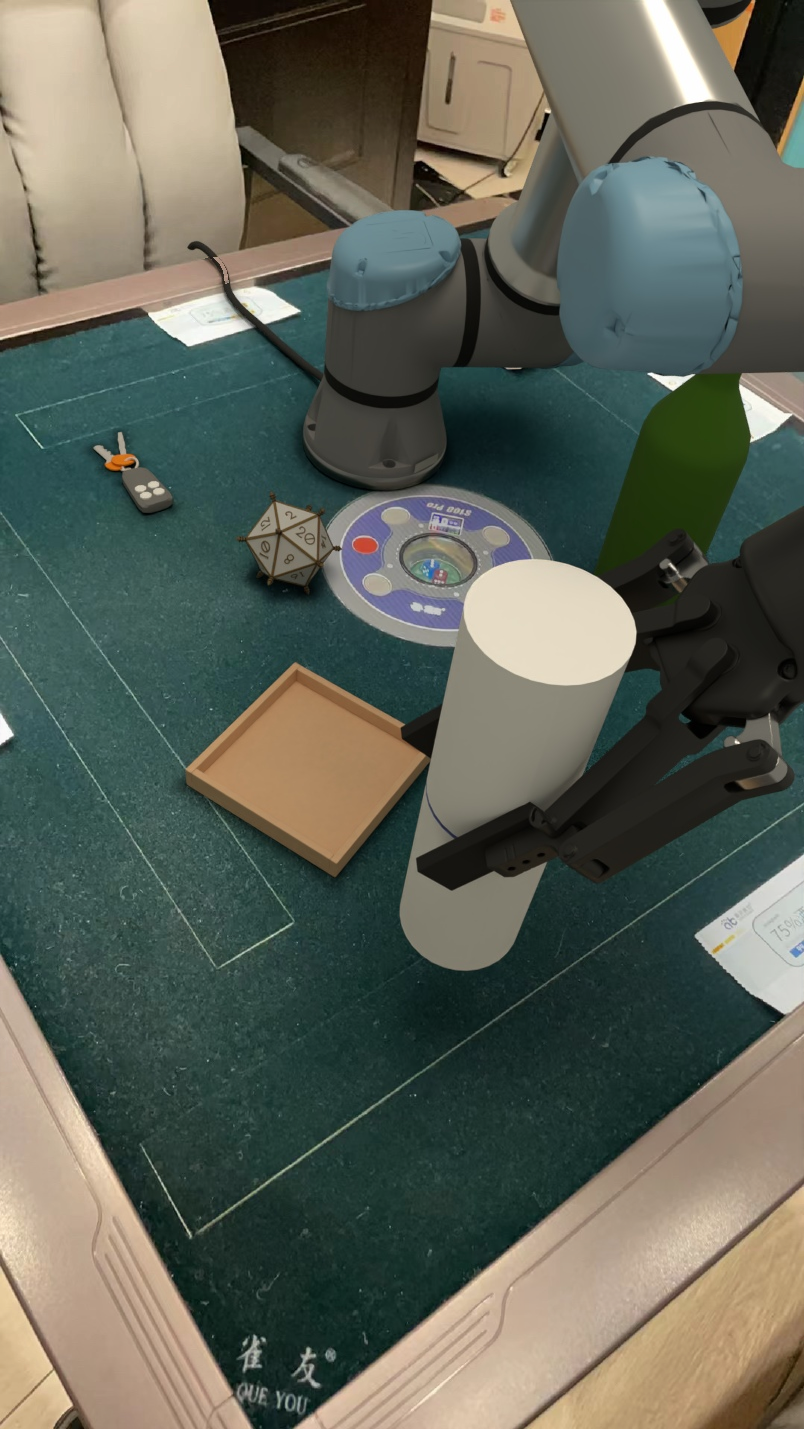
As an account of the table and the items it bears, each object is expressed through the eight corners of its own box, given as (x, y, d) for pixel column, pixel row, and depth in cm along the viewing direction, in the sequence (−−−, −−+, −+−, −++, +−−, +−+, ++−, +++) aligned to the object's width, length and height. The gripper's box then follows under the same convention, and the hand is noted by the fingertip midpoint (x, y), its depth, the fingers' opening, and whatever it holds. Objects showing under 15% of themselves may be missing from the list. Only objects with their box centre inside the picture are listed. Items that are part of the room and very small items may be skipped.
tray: (186, 784, 82) (185, 769, 81) (294, 677, 90) (295, 661, 89) (335, 877, 78) (336, 863, 77) (433, 757, 86) (436, 742, 85)
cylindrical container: (395, 863, 64) (454, 557, 45) (509, 861, 65) (616, 561, 46) (404, 972, 59) (475, 684, 40) (527, 968, 60) (654, 686, 41)
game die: (305, 597, 102) (374, 531, 97) (273, 629, 95) (345, 559, 90) (240, 529, 101) (306, 459, 96) (202, 556, 93) (271, 481, 89)
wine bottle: (694, 611, 101) (836, 292, 76) (643, 657, 96) (776, 333, 72) (619, 563, 105) (731, 244, 80) (566, 605, 100) (668, 279, 75)
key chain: (178, 506, 103) (177, 494, 102) (142, 517, 101) (141, 505, 100) (121, 434, 109) (120, 422, 108) (87, 443, 108) (85, 431, 106)
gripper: (1004, 817, 39) (497, 1016, 49) (818, 472, 51) (445, 688, 61) (945, 729, 34) (396, 970, 44) (756, 372, 46) (362, 624, 57)
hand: (425, 806), depth 53 cm, fingers closed on cylindrical container, 7 cm apart
